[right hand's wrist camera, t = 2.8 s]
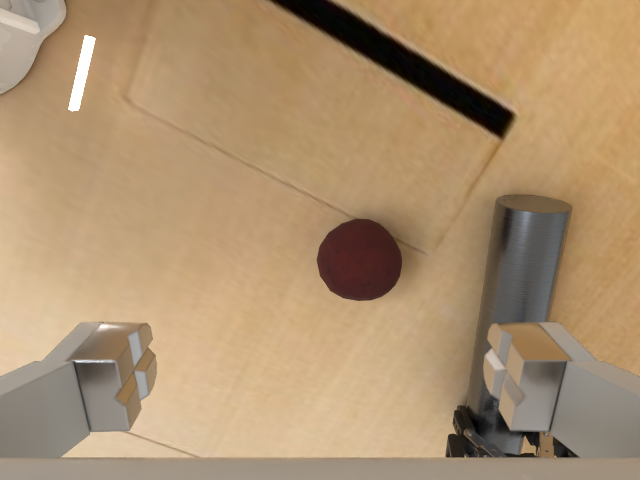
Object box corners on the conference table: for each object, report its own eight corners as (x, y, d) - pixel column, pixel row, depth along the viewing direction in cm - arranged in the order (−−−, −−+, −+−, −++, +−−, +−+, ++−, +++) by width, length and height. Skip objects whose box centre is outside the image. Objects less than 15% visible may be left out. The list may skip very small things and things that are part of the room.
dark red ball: (393, 278, 44) (406, 313, 37) (317, 280, 44) (317, 315, 38) (396, 209, 42) (410, 233, 35) (316, 210, 42) (315, 235, 35)
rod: (486, 194, 41) (512, 213, 35) (550, 194, 41) (587, 213, 35) (455, 421, 51) (472, 464, 45) (507, 421, 51) (531, 464, 45)
